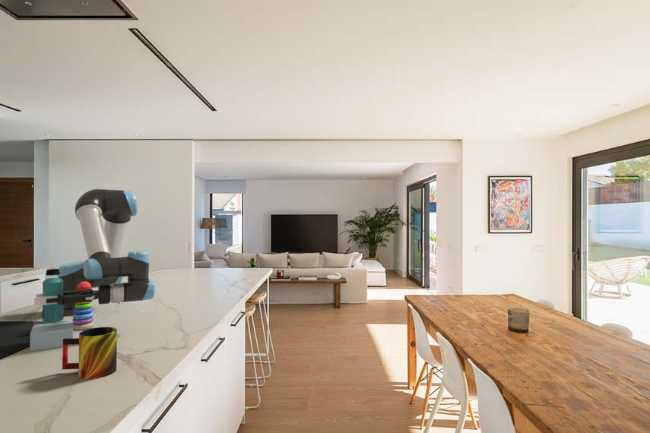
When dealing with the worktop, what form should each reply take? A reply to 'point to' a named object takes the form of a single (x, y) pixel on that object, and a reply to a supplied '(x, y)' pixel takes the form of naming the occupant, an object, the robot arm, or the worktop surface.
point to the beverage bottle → (52, 289)
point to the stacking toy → (83, 311)
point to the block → (50, 335)
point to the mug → (93, 352)
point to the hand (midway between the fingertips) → (35, 299)
